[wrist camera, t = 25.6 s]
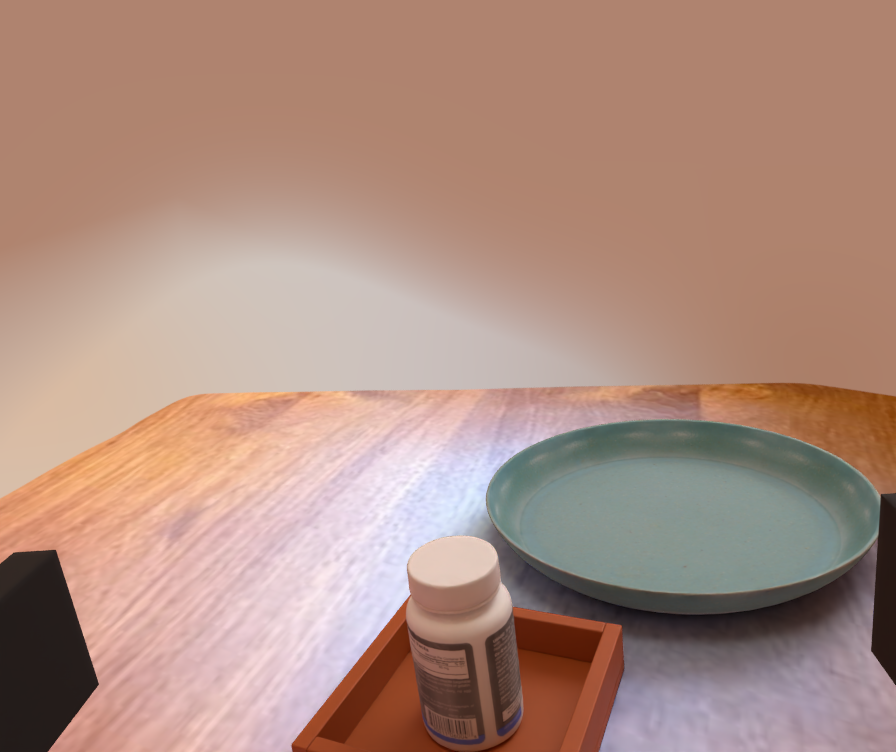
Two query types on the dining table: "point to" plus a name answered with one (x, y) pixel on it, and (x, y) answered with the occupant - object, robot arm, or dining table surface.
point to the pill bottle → (463, 644)
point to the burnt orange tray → (542, 679)
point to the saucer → (684, 514)
